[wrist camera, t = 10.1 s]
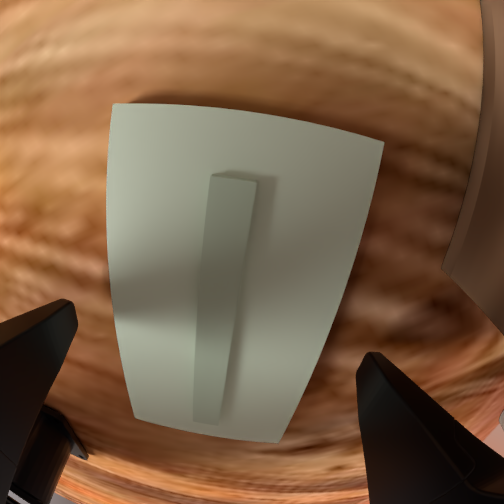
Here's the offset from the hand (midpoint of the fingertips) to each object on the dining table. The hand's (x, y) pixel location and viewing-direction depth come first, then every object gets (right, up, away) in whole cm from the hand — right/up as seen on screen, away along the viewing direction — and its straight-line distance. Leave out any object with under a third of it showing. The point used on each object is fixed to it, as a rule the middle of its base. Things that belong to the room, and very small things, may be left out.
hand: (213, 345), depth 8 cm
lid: (0, +1, +1) cm, 2 cm away
